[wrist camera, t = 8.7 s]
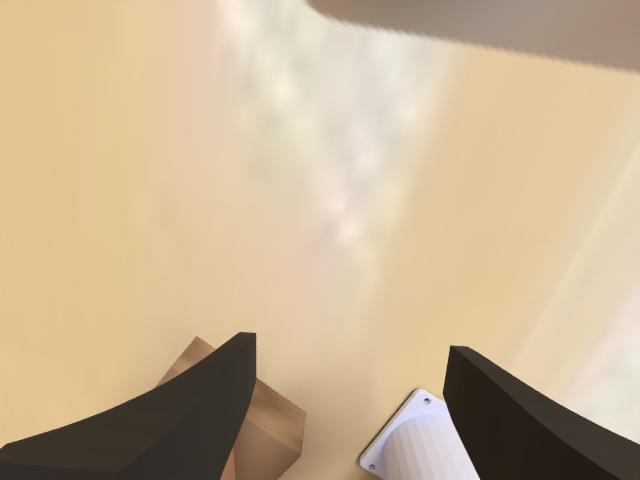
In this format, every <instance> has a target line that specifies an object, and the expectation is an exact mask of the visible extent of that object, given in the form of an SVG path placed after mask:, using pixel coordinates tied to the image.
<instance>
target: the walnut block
mask: <svg viewBox="0 0 640 480" xmlns="http://www.w3.org/2000/svg"><path fill="white" fill-rule="evenodd" d="M215 350H216V349H215V348H213V347H212V346H211V345H209V344H208V343H206V342H205V341H203V340H202V339H201V338H199V337H198V336H197V337H196V338H195V339H194V340H193V341H192V343H191V344H190V345H189V346H188V347H187V349H186V350H185V351H184V352H183V353H182V355H181V356H180V357H179V358H178V359H177V361H176V362H175V363H174V364H173V365H172V367H171V368H170V369H169V371H168V372H167V373H166V374H165V376H164V377H163V378H162V380H161V381H160V382H159V383H158V385H157V386H156V387H158V386H160V385H162V384H164V383H166V382H167V381H169V380H171V379H173V378H174V377H176V376H178V375H179V374H181V373H182V372H184V371H185V370H187V369H188V368H190V367H192V366H193V365H195V364H196V363H198V362H199V361H201V360H202V359H204V358H205V357H207V356H208V355H209V354H211V353H212V352H213V351H215ZM156 387H155V388H156ZM305 415H306V412H304V411H303V410H302V409H300V408H299V407H297V406H296V405H294V404H293V403H292V402H290V401H289V400H287V399H286V398H285V397H283V396H282V395H280V394H279V393H277V392H276V391H275V390H273V389H272V388H270V387H269V386H267V385H266V384H265V383H263V382H262V381H260V380H259V379H257V378H256V384H255V387H254V391H253V395H252V399H251V402H250V406H249V409H248V411H247V414H246V416H245V419H244V421H243V424H242V426H241V429H240V431H239V434H238V436H237V438H236V441H235V443H234V446H233V451H234V464H235V476H236V480H277V479H278V478H279V477H280V476H281V475H282V474H283V473H284V472H285V471H286V470H287V469H288V468H289V467H290V466H291V465H292V464H293V463H294V462H295V461H296V460H297V459H298V458H299V457H300V456H301V450H302V441H303V433H304V424H305Z"/></svg>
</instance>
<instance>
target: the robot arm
mask: <svg viewBox="0 0 640 480" xmlns="http://www.w3.org/2000/svg"><path fill="white" fill-rule="evenodd" d="M255 384H256V333H247V332H239V333H238V334H236V335H235V336H234V337H232V338H231V339H230V340H228V341H227V342H226V343H224V344H223V345H222V346H220V347H219V348H218V349H216V350H215V351H213V352H212V353H211V354H209V355H208V356H207V357H205V358H204V359H202V360H201V361H199V362H198V363H196V364H195V365H193V366H192V367H190V368H188V369H187V370H185V371H184V372H182V373H181V374H179V375H178V376H176V377H174V378H173V379H171V380H169V381H167V382H166V383H164V384H162V385H160V386H158V387H156V388H154V389H152V390H151V391H149V392H147V393H145V394H142V395H140V396H138V397H136V398H134V399H132V400H129V401H127V402H125V403H123V404H121V405H118V406H116V407H114V408H112V409H109V410H107V411H104V412H102V413H99V414H97V415H94V416H92V417H89V418H86V419H83V420H81V421H78V422H75V423H72V424H70V425H67V426H64V427H61V428H58V429H55V430H51V431H48V432H45V433H42V434H38V435H35V436H32V437H29V438H25V439H22V440H19V441H15V442H12V443H8V444H6V445H4V446H3V447H2V448H1V449H0V480H220V479H221V476H222V473H223V470H224V468H225V465H226V463H227V461H228V458H229V456H230V453H231V451H232V448H233V446H234V443H235V441H236V438H237V436H238V434H239V431H240V429H241V426H242V424H243V421H244V419H245V416H246V414H247V411H248V409H249V406H250V402H251V399H252V395H253V391H254V387H255ZM443 396H444V399H445V402H444V401H443V400H441V399H439V398H437V397H436V396H434V395H432V394H431V393H429V392H427V391H425V390H424V389H417V390H415V391H414V392H413V393H412V395H411V396H410V397H409V398H408V400H407V401H406V402H405V403H404V404H403V406H402V407H401V408H400V409H399V411H398V412H397V413H396V414H395V415H394V417H393V418H392V419H391V420H390V421H389V423H388V424H387V425H386V426H385V428H384V429H383V430H382V431H381V432H380V434H379V435H378V436H377V437H376V439H375V440H374V441H373V442H372V443H371V445H370V446H369V447H368V448H367V450H366V451H365V452H364V453H363V454H362V456H361V457H360V466H361V467H362V468H364V469H366V470H368V471H369V472H371V473H373V474H375V475H377V476H379V477H380V478H382V479H384V480H640V444H638V443H635V442H633V441H631V440H629V439H627V438H624V437H622V436H620V435H618V434H616V433H614V432H612V431H610V430H608V429H605V428H603V427H601V426H599V425H597V424H595V423H593V422H592V421H590V420H588V419H586V418H584V417H582V416H580V415H578V414H576V413H575V412H573V411H571V410H569V409H567V408H565V407H564V406H562V405H560V404H558V403H556V402H555V401H553V400H551V399H550V398H548V397H546V396H545V395H543V394H541V393H540V392H538V391H536V390H535V389H533V388H532V387H530V386H528V385H527V384H525V383H524V382H522V381H520V380H519V379H517V378H516V377H514V376H513V375H511V374H510V373H508V372H507V371H505V370H504V369H502V368H501V367H499V366H498V365H496V364H495V363H493V362H492V361H490V360H489V359H487V358H486V357H484V356H482V355H481V354H479V353H478V352H476V351H474V350H473V349H471V348H469V347H465V346H450V351H449V358H448V364H447V370H446V376H445V383H444V389H443ZM426 398H428V400H426V401H424V399H426ZM370 464H373V465H370Z"/></svg>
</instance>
